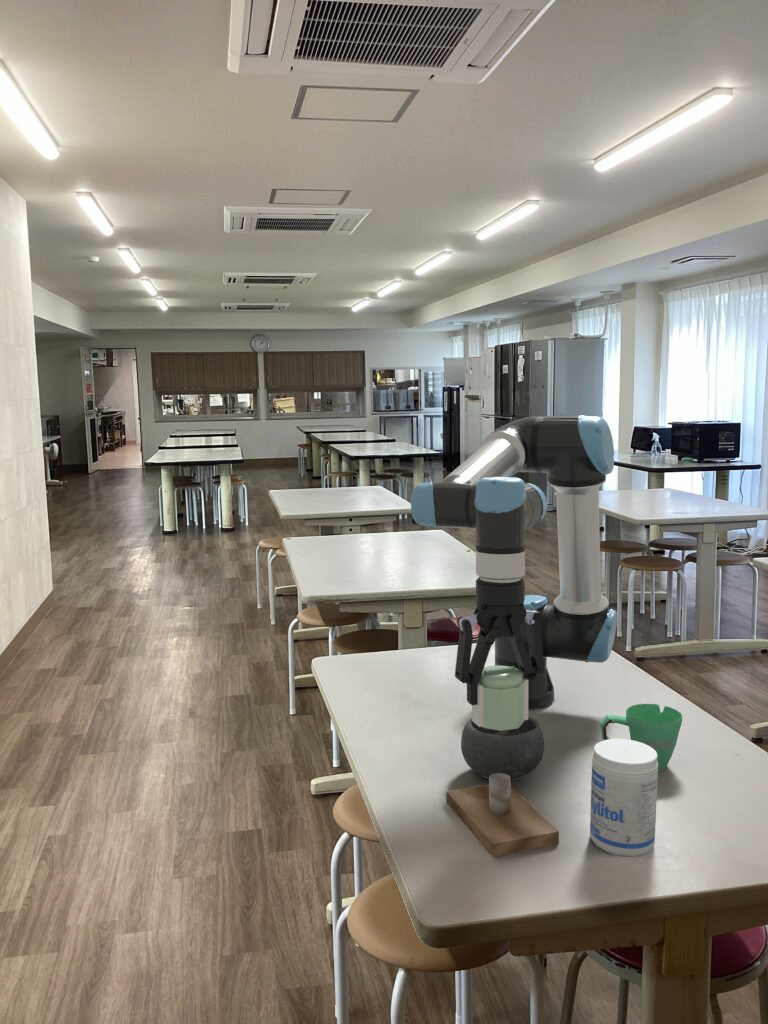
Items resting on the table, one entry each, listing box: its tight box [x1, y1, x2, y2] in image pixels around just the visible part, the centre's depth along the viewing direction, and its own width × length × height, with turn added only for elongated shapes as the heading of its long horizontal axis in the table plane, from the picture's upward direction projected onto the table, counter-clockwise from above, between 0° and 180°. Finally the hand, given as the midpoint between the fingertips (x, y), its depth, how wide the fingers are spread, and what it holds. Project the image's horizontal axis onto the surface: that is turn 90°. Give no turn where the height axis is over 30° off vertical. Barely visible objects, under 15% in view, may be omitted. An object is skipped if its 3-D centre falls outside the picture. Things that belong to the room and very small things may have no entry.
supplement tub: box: [589, 738, 659, 857], centre depth 125 cm, size 10×10×15 cm
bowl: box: [460, 715, 546, 781], centre depth 149 cm, size 15×15×10 cm
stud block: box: [446, 773, 560, 858], centre depth 133 cm, size 11×18×8 cm, turn 18°
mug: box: [599, 703, 683, 772], centre depth 152 cm, size 15×10×10 cm
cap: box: [479, 665, 524, 731], centre depth 131 cm, size 7×7×9 cm
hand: (500, 720), depth 131 cm, fingers closed on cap, 7 cm apart
